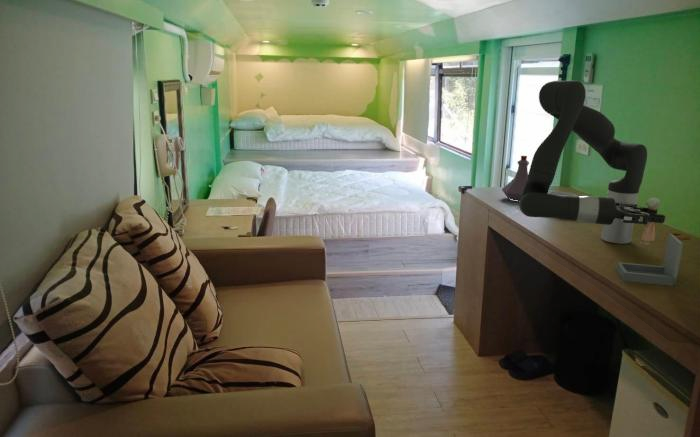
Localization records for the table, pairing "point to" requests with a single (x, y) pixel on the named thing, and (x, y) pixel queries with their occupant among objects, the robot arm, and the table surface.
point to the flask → (518, 181)
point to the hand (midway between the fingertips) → (660, 215)
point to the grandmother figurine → (650, 226)
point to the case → (655, 267)
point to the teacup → (561, 193)
